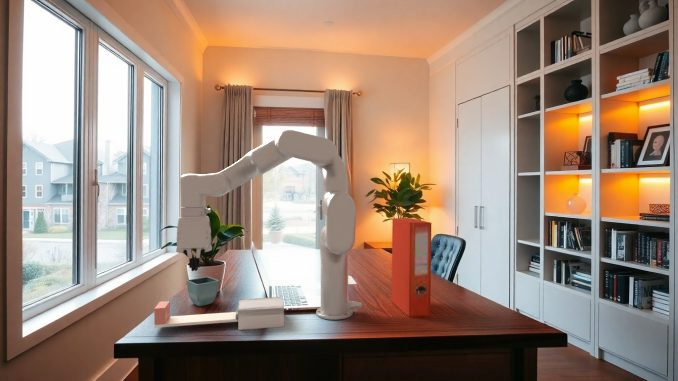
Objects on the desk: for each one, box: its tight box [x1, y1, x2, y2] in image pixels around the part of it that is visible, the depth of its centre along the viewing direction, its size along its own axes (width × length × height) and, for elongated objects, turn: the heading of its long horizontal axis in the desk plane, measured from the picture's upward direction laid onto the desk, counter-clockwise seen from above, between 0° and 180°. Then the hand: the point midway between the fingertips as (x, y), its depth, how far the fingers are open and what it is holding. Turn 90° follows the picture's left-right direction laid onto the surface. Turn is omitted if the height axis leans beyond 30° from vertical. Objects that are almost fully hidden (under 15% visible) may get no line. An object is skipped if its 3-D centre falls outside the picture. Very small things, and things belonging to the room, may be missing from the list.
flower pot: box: [186, 276, 219, 307], centre depth 148 cm, size 9×9×9 cm
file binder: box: [391, 217, 432, 318], centre depth 142 cm, size 8×17×32 cm, turn 12°
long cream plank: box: [153, 300, 238, 329], centre depth 125 cm, size 26×7×6 cm, turn 102°
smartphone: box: [348, 275, 358, 286], centre depth 183 cm, size 7×1×15 cm
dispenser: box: [235, 296, 285, 331], centre depth 129 cm, size 15×12×6 cm
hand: (194, 269), depth 126 cm, fingers closed
